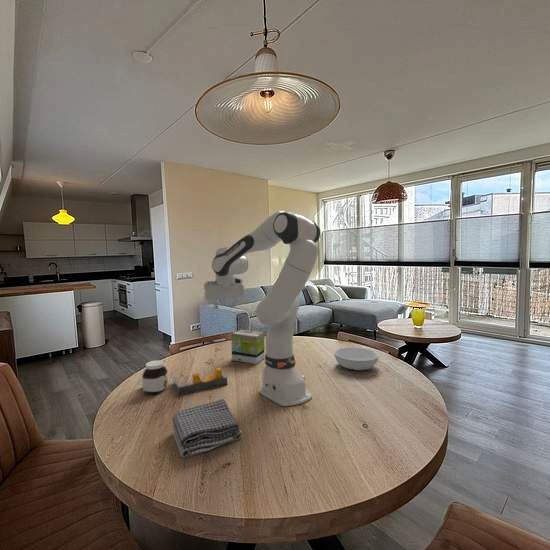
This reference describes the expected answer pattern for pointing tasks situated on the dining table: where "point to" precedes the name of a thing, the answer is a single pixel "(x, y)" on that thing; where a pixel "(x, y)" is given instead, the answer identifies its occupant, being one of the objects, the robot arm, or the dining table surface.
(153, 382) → the spread jar
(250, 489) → the dining table surface
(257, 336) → the tea box
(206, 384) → the tray
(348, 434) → the dining table surface
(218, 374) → the pipe clamp
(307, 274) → the robot arm
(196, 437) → the towel
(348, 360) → the serving bowl
